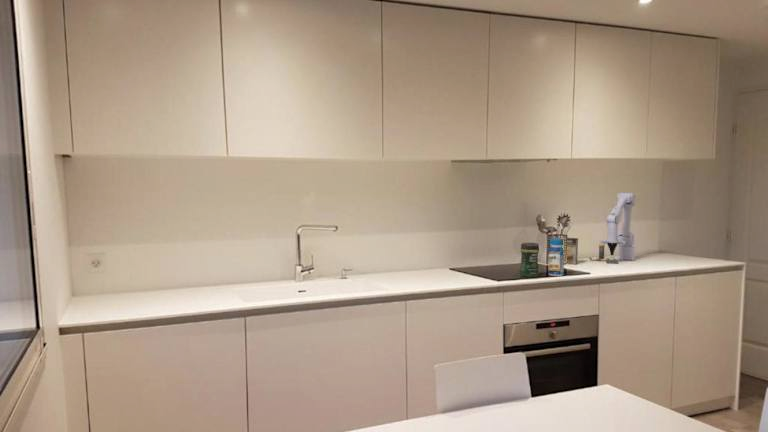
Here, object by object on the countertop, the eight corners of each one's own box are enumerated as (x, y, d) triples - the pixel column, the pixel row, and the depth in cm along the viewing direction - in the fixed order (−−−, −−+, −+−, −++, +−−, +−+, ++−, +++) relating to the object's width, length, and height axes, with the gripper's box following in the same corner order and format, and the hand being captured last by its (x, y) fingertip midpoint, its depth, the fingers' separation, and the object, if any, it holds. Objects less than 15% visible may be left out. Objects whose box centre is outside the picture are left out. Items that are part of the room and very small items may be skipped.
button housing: (616, 262, 333) (616, 258, 333) (617, 263, 327) (617, 260, 327) (606, 261, 335) (606, 258, 335) (607, 263, 329) (607, 259, 329)
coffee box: (560, 263, 330) (560, 238, 329) (562, 262, 335) (563, 237, 334) (575, 264, 325) (576, 239, 324) (577, 263, 330) (578, 238, 329)
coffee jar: (525, 278, 281) (525, 243, 280) (517, 275, 289) (518, 242, 288) (541, 277, 284) (541, 243, 283) (533, 274, 291) (533, 241, 290)
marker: (604, 258, 344) (604, 243, 344) (604, 258, 341) (604, 244, 340) (598, 258, 345) (598, 243, 345) (599, 258, 342) (599, 244, 341)
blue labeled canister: (566, 275, 287) (567, 239, 285) (552, 276, 285) (553, 240, 284) (558, 273, 295) (559, 238, 294) (545, 273, 293) (545, 238, 292)
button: (614, 261, 332) (614, 257, 332) (615, 261, 329) (615, 258, 329) (608, 260, 333) (608, 257, 333) (609, 261, 330) (609, 257, 330)
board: (608, 259, 346) (608, 257, 346) (610, 261, 337) (610, 259, 337) (589, 258, 350) (589, 257, 350) (590, 260, 340) (590, 259, 340)
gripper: (600, 233, 328) (600, 255, 329) (625, 234, 324) (625, 256, 325) (599, 232, 335) (599, 253, 336) (624, 233, 331) (623, 254, 332)
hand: (611, 255), depth 331 cm, fingers closed
